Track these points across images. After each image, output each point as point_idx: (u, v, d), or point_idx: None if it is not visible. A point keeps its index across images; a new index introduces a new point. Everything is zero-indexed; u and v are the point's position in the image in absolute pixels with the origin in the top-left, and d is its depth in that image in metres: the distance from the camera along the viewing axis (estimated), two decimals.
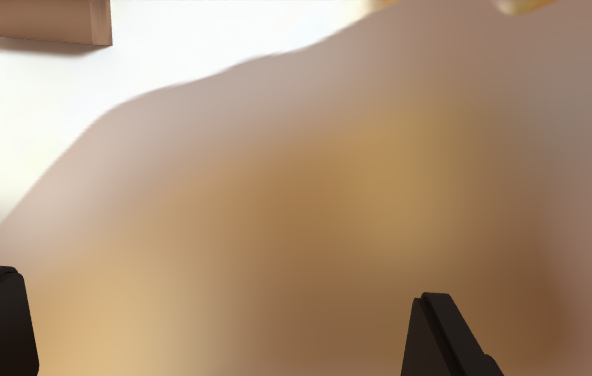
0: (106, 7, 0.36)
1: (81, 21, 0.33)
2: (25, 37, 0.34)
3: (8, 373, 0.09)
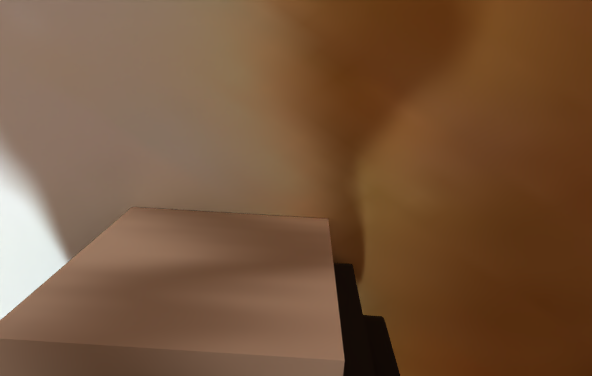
0: None
1: None
2: None
3: None
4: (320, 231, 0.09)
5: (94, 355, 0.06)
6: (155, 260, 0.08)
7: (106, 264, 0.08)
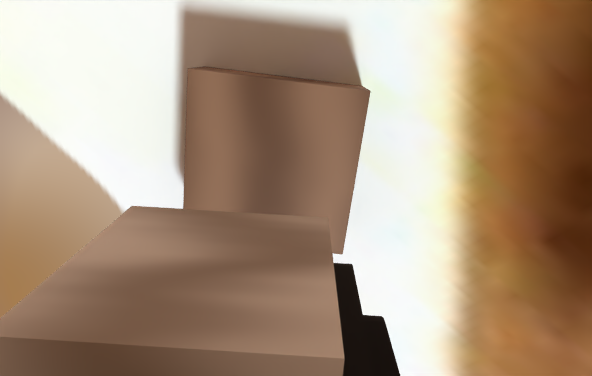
0: None
1: None
2: (187, 146, 0.23)
3: None
4: (320, 229, 0.09)
5: (94, 352, 0.06)
6: (154, 259, 0.08)
7: (105, 262, 0.08)
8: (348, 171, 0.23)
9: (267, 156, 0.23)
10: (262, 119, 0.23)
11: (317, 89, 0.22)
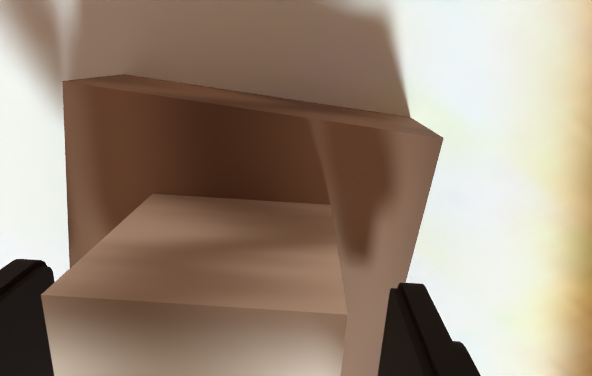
0: None
1: None
2: (72, 233, 0.12)
3: (39, 363, 0.09)
4: (324, 214, 0.11)
5: (136, 310, 0.07)
6: (179, 237, 0.09)
7: (136, 240, 0.09)
8: (387, 288, 0.12)
9: None
10: (219, 186, 0.11)
11: (333, 131, 0.11)
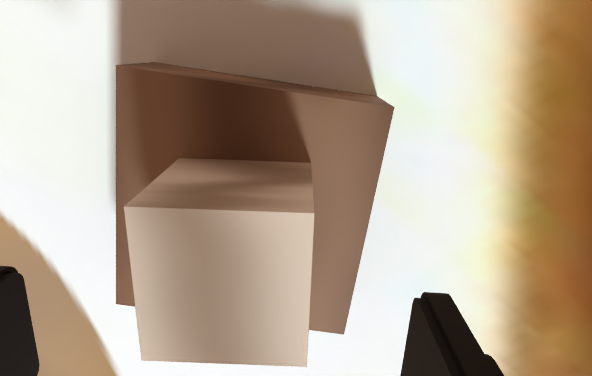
0: None
1: None
2: (118, 181, 0.16)
3: (8, 373, 0.09)
4: (305, 168, 0.15)
5: (183, 215, 0.11)
6: (204, 181, 0.13)
7: (175, 182, 0.13)
8: (356, 222, 0.16)
9: None
10: (230, 144, 0.15)
11: (314, 102, 0.15)
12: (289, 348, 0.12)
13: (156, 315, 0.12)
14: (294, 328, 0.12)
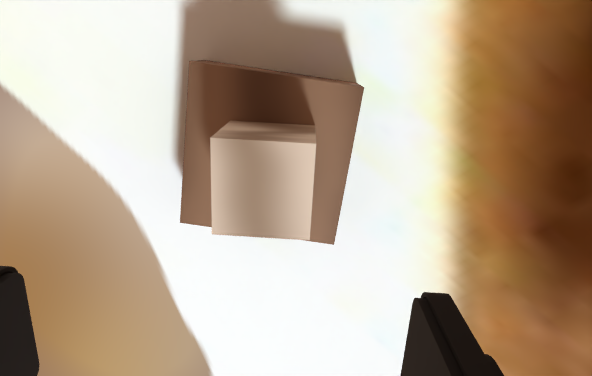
0: None
1: (207, 215, 0.26)
2: (186, 136, 0.24)
3: (8, 373, 0.09)
4: (311, 127, 0.23)
5: (243, 143, 0.19)
6: (250, 130, 0.21)
7: (233, 130, 0.21)
8: (341, 164, 0.24)
9: None
10: (259, 111, 0.24)
11: (313, 84, 0.23)
12: (299, 227, 0.20)
13: (223, 204, 0.20)
14: (303, 215, 0.20)
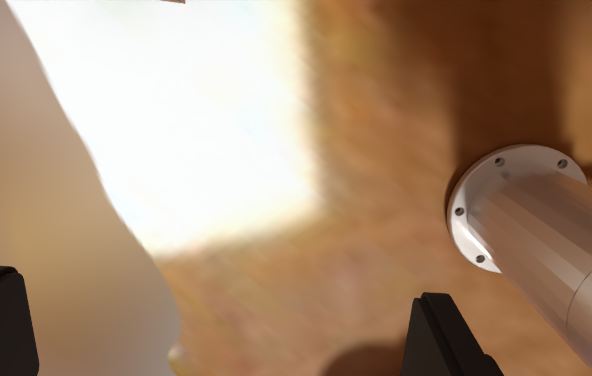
0: None
1: None
2: None
3: (8, 373, 0.09)
4: None
5: None
6: None
7: None
8: None
9: None
10: None
11: None
12: None
13: None
14: None
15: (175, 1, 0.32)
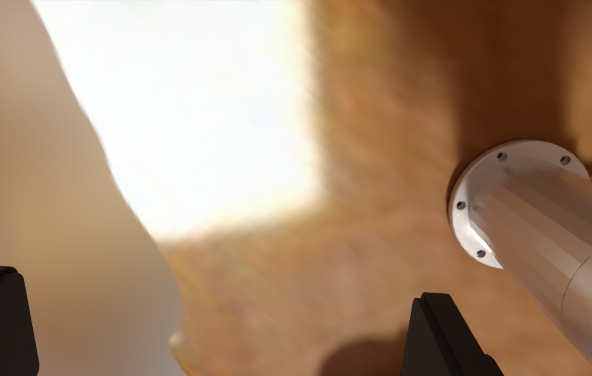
0: None
1: None
2: None
3: (8, 373, 0.09)
4: None
5: None
6: None
7: None
8: None
9: None
10: None
11: None
12: None
13: None
14: None
15: None
